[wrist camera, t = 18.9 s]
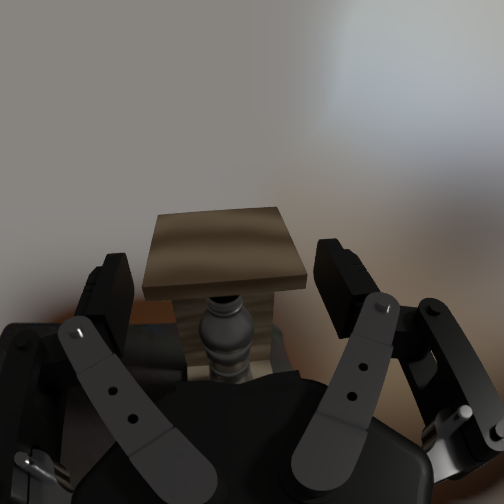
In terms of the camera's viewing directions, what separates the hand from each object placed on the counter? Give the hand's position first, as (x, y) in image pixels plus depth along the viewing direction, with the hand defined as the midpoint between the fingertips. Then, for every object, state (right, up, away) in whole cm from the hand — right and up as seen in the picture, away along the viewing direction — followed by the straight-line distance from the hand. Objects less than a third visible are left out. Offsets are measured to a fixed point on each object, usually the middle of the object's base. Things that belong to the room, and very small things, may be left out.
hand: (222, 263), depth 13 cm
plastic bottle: (-2, -20, +30) cm, 36 cm away
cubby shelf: (-2, -21, +31) cm, 38 cm away
